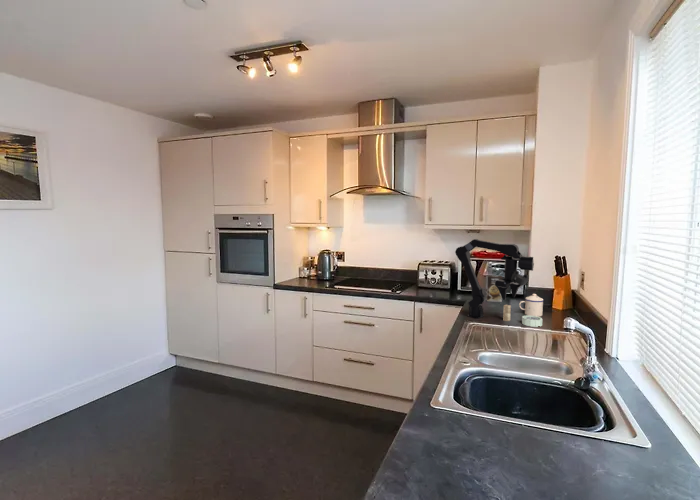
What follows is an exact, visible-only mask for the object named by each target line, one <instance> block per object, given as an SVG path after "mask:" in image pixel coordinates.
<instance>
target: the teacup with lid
mask: <svg viewBox="0 0 700 500" xmlns="http://www.w3.org/2000/svg"><path fill="white" fill-rule="evenodd" d="M524 299H525V300H521V301H519V304H518V306H519V308H520V309H521V310H522V311H524V315H525V316H527V315H530V316H537V317H540V318H541V317H542V316H543V312H544V311H543V307H544V299H543V298H542V297H540V296H538V295H537V294H536V293H532V295H528V296H525V298H524ZM522 303H525V305H524V306H525V308H523V307H522V306H521V304H522Z"/></svg>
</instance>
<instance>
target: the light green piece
mask: <svg viewBox="0 0 700 500" xmlns="http://www.w3.org/2000/svg"><path fill="white" fill-rule="evenodd" d="M521 323H522V325H524V326H527V327H532V328H539V327H538V326H540V327H542V326H543V317H541V316H540V317H537V316H530V315H522V316H521Z"/></svg>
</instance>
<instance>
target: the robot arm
mask: <svg viewBox="0 0 700 500" xmlns="http://www.w3.org/2000/svg"><path fill="white" fill-rule="evenodd" d="M475 248H479V249H480V248H481V249H484V250H485V249H486V250H490V251H494V252H495V251H496V252H499V253H501V254H503V257H501V260H504V262H505V263H504V269H502V273H503V274H504V276H503V278H502V280H497V281H495V286H496V287H497V288H498V290H499V292H500V294H501V296H502V301H505V300H506V298H507V292H508V290H509V289H510V291H511V297H512V298H514V299H515V298H516V296H517V293H518V291H519V288H521V287H522V286H526V285H527V283H528V282H529V275H528V274H524V275H523V274H520V272H519V270H520V271H521V270H522V271H531V272H532V271H534V267H535V266H534V265H535V263H534V257H533V256H523V255H522V253H521V252H520V249H519V246H518V245H517V244H514V243H498V242H497V243H496V242H493V241H487V240H481V239H477V238H475V239H472V240H471V241H469V242H467V244H464V245H462V246H459V247H457V248H456V249H455V251H454V253H455V255H456V257H457V259H458V260H459V262H460V263H461V264H462V267H463V270H464V271H465V274H466V277H467V279H468V282H469V284H470V287H471V296H472V297H471V298H472V299H471V300H469V301H468V302H467V303H468V314H467V315H466V316H467V317H469V318H474V319H481V318H483V317H485V315H484V308H483V303H484V302H486V298H487V293H486V287H482V286H481V285H480V283H479V280H478V278H477V275H476V272H475V269H474V267H473V264H472V262H471V253H470V252H472V251H473V250H474V249H475ZM518 268H519V270H518Z"/></svg>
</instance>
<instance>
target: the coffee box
mask: <svg viewBox="0 0 700 500" xmlns="http://www.w3.org/2000/svg"><path fill="white" fill-rule="evenodd" d="M485 276H486V277H485V291H486V293H487V298H486V300H485V302H493V303H494V302H495V303H496V302H497V303H502V302H503V299H502V296H501V294H500V292H499V290H498V288H497V287H496V286H495V281H497V280H502V278H504V276H501V275H488V274H487V275H485Z"/></svg>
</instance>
